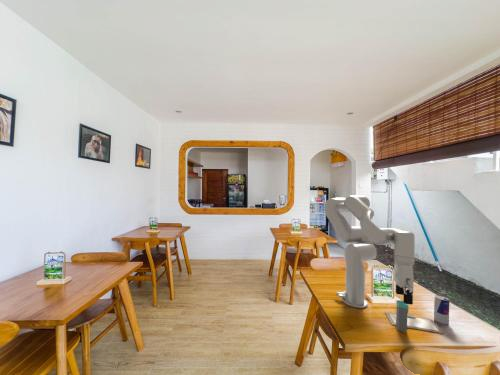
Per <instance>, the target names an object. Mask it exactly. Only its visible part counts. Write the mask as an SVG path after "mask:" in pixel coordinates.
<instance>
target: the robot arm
mask: <svg viewBox="0 0 500 375" xmlns="http://www.w3.org/2000/svg"><path fill="white" fill-rule="evenodd" d="M370 206H371V201H370V199H369V198H368V197H367V196H366V195H360V194H359V195H356V194H353V195H352V194H350V195H348V196H346V197H332V198H328V199H327V200H326V201H325V203H324V214H325V216H326V218H327V219H328V220H329V222H330V223H331V225H332V227H333V229H334V231H335V233H336V234H337V237H338V239H339V240H340V241H341V243H343V244H348V245H347V246H345V248H344V257H345V290H344V291H342V292H340V291H335V295H336V296H337V297H338V298H341V301H342V302H343V304H345V305H347V306H349V307H352V308H355V309H365V308H367V307H368V304H369V303H368V301H367V300H366V299H365V295H366V294H365V293H366V291H365V290H366V268H365V266H364V264H363V262H368V261H374V260H375V259H376V258H377V256H378V255H377V254H378V253H377V252H378V251H377V248H376V246H375V245H377V246H378V245H379V246H384V245H385V246H386V245H393V262H394V266H393V281H394V282H395V294H396V295H400V296H403V300H402V301H403V302H404V304H408V305H412V306H413V304H414V300H413V298H414V282H415V281H414V280H415V279H414V267H413V266H414V265H415V245H416V244H415V238H416V236H415V233H413V232H412V231H410V230H402V229H397V228H394V227H381V228H380V227H378V226H377V225H376V224H375V223H374V222H373V221H372V219H373V218H374V217H375V211H374V210H373V209H372V208H371V207H370ZM349 212H350V214H352V215H353V216H354V217H355V219H357V220H358V221H359V225H360V226H358V225H357V226H356V225H355V226H353V225H352V226H351V225H350V224H349V222H348V221H347V219H346V217H345V216H344V215H343V214H341V213H349ZM374 244H375V245H374Z"/></svg>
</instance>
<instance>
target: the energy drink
mask: <svg viewBox="0 0 500 375" xmlns="http://www.w3.org/2000/svg"><path fill="white" fill-rule="evenodd" d="M433 303H434V304H433V307H434V308H433V321H434V322H435V324H436V325H437V326H440V327H445V328H446V327H449V325H450V299H449V298H448V297H446V296H443V295H438V294H437V295H435V296H434V302H433Z"/></svg>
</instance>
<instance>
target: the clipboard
mask: <svg viewBox="0 0 500 375" xmlns="http://www.w3.org/2000/svg"><path fill="white" fill-rule="evenodd" d="M384 314H385V316H386V318H387V319H388V321H389V324H390V325H391V326H394V327H396V313H393V312H386V311H385V312H384ZM407 329H412V330H419V331H421V332H422V331H424V332H429V333H435V334H441V335H445V332H444V331H443V330H442V329H441V328H440V327H439V325H438V324H436V323H435V322H434V319H431V318H423V317H419V316H417V317H416V316H415V315H414V314H410V313H407Z"/></svg>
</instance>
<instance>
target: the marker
mask: <svg viewBox="0 0 500 375" xmlns="http://www.w3.org/2000/svg"><path fill="white" fill-rule="evenodd" d="M395 314H396V326H395V328H396V329H397V331H398V332H399V333H401V332H402V333H405V334H407V333H408V328H407V314H409V304H404V302H403V300H398V299H396V312H395Z"/></svg>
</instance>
